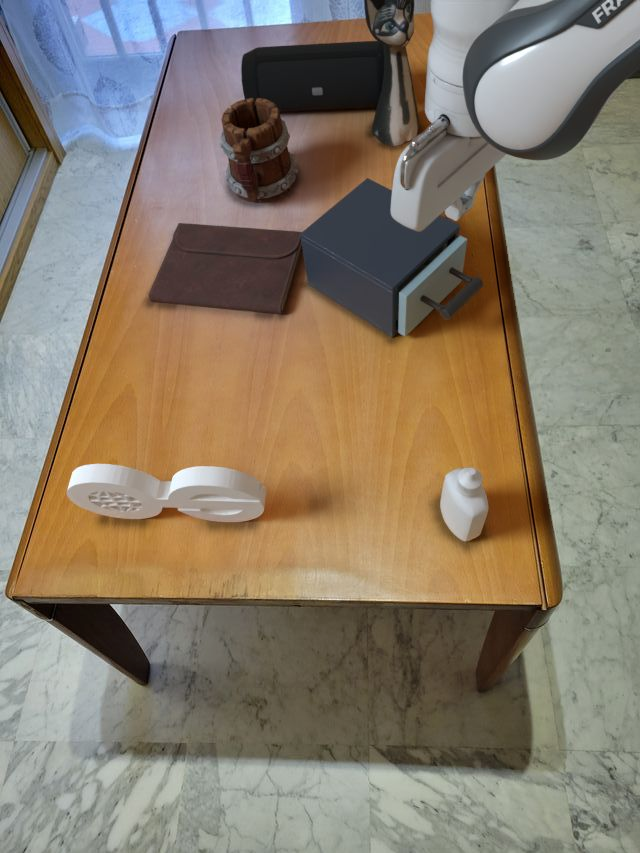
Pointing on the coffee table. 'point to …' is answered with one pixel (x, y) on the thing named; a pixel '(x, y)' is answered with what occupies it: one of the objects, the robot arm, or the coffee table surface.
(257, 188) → the mug
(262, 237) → the brown leather sleeve case
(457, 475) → the eye dropper bottle
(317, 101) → the portable speaker
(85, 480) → the white double disc plate
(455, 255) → the drawer
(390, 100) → the figurine
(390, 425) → the coffee table surface
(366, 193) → the cabinet
